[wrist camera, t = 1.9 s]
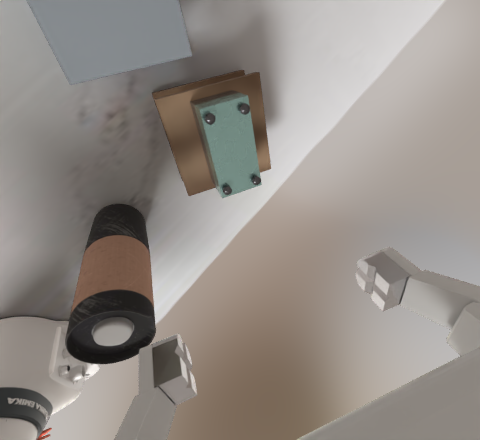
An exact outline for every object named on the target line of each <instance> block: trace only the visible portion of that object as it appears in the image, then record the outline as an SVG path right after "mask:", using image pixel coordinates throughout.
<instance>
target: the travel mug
mask: <svg viewBox="0 0 480 440" xmlns="http://www.w3.org/2000/svg"><path fill="white" fill-rule="evenodd" d="M155 333H156V328H155V316H154V302H153V289H152V276H151V262H150V252H149V245H148V238H147V232H146V225H145V220H144V218H143V216H142V214H141V213H140V212H139V211H138V210H137V209H135V208H133V207H131V206H128V205H124V204H115V205H110V206H107V207H105V208H103V209H102V210H101V211H100V212H99V213H98V214H97V215H96V217H95V219H94V222H93V225H92V228H91V232H90V235H89V239H88V242H87V245H86V249H85V252H84V256H83V260H82V265H81V269H80V274H79V278H78V283H77V287H76V292H75V297H74V301H73V306H72V310H71V315H70V319H69V324H68V328H67V333H66V338H65V346H66V349H67V351H68V353H69V354H70V355H71V356H72V357H74V358H75V359H77V360H79V361H82V362H85V363H90V364H110V363H116V362H119V361H123V360H126V359H129V358H131V357H133V356H135V355H137V354H139V350H140V349H141V348H143V347H146V346H148V345H149V344H150V343H151V342H152V340H153V338H154V336H155Z"/></svg>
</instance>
